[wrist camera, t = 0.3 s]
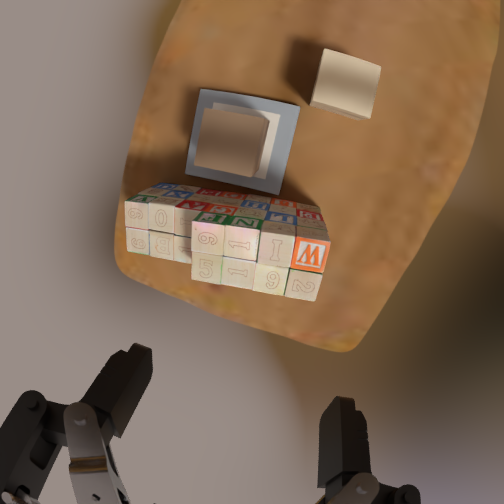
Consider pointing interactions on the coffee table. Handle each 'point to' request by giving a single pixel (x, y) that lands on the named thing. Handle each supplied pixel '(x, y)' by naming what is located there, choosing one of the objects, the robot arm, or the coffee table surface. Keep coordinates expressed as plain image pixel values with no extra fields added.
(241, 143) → the walnut block
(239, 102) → the build board
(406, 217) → the coffee table surface
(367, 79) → the maple block
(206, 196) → the stack of blocks
